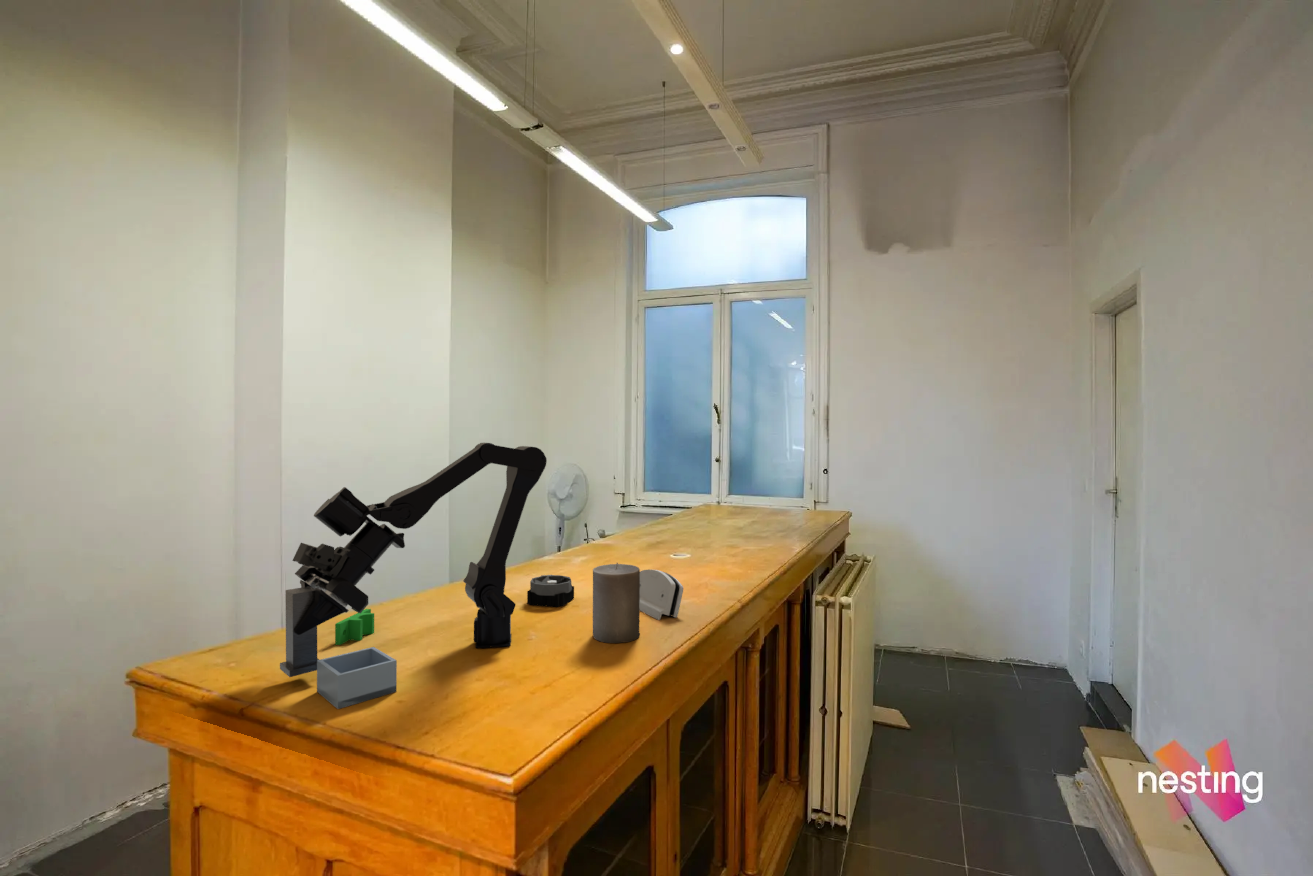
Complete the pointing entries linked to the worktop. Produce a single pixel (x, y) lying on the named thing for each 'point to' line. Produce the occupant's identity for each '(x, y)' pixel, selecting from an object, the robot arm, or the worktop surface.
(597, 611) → the pillar candle
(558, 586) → the cpu cooler
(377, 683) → the box
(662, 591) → the napkin holder
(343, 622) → the pipe clamp
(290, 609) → the dark square pedestal
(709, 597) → the worktop surface
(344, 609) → the robot arm
